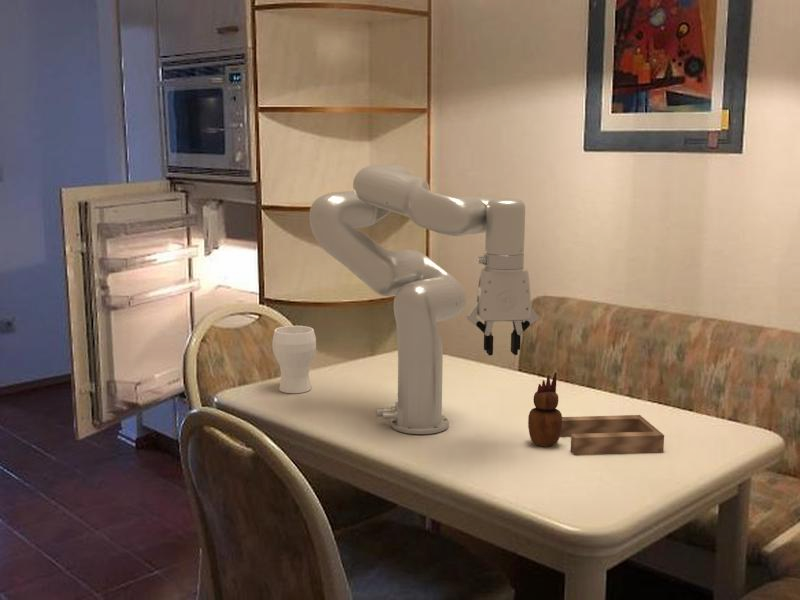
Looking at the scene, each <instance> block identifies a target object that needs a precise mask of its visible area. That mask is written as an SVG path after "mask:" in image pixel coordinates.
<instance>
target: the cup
mask: <svg viewBox="0 0 800 600" xmlns="http://www.w3.org/2000/svg"><path fill="white" fill-rule="evenodd" d="M315 333H316V332H315V330H314V328H313V327H311V326H305V325H285V326H281V327H279V326H278V327H277V328H275V329H274V332H273V336H272V352H273V354H274V357H275V360H276V361H277V364H278V366H279V371H280V381H279V388H278V389H279V391H280V392H282V393H286V394H301V393H307V392H309V391H310V390H311V389H312V387H311V386H312V385H311V379H310V375H309V373H310V366H311V363H312V362H313V359H314V356H315V353H316V349H317V337H316V334H315Z"/></svg>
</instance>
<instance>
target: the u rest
mask: <svg viewBox="0 0 800 600" xmlns="http://www.w3.org/2000/svg"><path fill="white" fill-rule="evenodd" d="M564 437H565V438H567V437H570V452H571V453H572V454H573V456H580V455H582V456H583V455H585V456H586V455H612V454H613V455H616V454H620V455H621V454H645V453H664V445H665V434H664V433H662V432H661V431H660V430H659V429H657V427H655V426H654V425H653V424H651V423H650V422H649V421H648V420H647V419H645V417H643V416H642V415H640V414H631V415H630V414H627V415H626V414H625V415H623V414H622V415H589V416H588V415H586V416H562V429H561V434H560V437H559V438H564Z"/></svg>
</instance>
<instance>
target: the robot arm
mask: <svg viewBox="0 0 800 600" xmlns="http://www.w3.org/2000/svg"><path fill="white" fill-rule="evenodd" d="M352 189H353V190H348V191H347V190H346V191H334V192H330V193H329V192H328V193H325V194H322V195H320V196H319V197H317V198H316V199H315V200H314V201H313V203H312V204H311V206H310V209H309V226H310V229H311V232H312V234H313V236H314V239H315V240H316V242H317V243H318V244H319V246H320V247H321V248H322V249H323V250H324V251H325V252H326V253H328V255H330V256H331V257H332V258H334V259H335V260H336V261H338V262H340V263H341V264H342V265H343V266H345V267H346V268H347V269H348V270H349V271H350V272H351V273H352V274H353V275H355V276H356V277H357V278H358V279H359V280H361V281H362V282H363V283H364V284H365V285H366V286H368V287H369V288H370V289H371V290H373V291H374V292H375V293H376V294H378V295H379V296H383V297H390V296H394V299H393V313H394V314H393V315H394V319H395V325H396V332H397V361H398V362H397V369H398V370H397V402H396V401H395V402H394V405H391V406H390V407H376V409H375V413H376V415H375V416H376V417H377V418H378V417H382V419H383V420H387V419H390V427H391V428H392V429H393V430H395V431H397V432H400V433H405V434H411V435H431V434H438V433H441V432H443V431H445V430H447V429H448V428H449V426H450V420H449V419H448V418H447V417H446V416H444V415H443V414H442V413H443V357H444V356H443V355H444V354H443V350H444V349H443V341H442V336H441V333H440V331H439V327H438V324H437V323H439V322H444V321H447V320H451V319H452V318H455V317H457V316H458V315H460V314H461V312H462V311H463V310H464V308H465V305H466V293H465V290H464V288H463V286H462V285H461V283H460V282H459V280H457V278H455V277H454V276H453V275H452V274H450V272H448V271H446V270H445V268H443V267H441V266H440V265H439V264H438V263H436V262H435V261H434V260H433V259H432V258H430V257H428V256H427V255H426V254H425V253H423V252H420V251H418V250H415V249H412V248H411V249H410V248H409V249H408V248H407V249H399V250H389V249H387V248H386V247H383V246H382V245H380V244H379V243H378V242H376V241H375V239H373V238H372V237H370V236H369V235H368V234H366V233H363V232H361V231H359V230H357V229H360V228H361V229H362V228H367V227H371V226H372V225H374V224H376V223H378V222H380V221H381V220H382V219H384V218H385V217H387V216H388V215H389V214H391V213H395V214H399V215H400V216H401V215H402V216H404V217H407V218H408V219H409V220H410V221H411V222H412V223H414V224H415V225H416V226H418V227H420V228H423V229H426V230H428V231H432V232H434V233H438V234H442V235H444V236H447V237H462V236H468V235H477V234H483V233H485V242H484V243H485V246H484V247H485V249H484V251H485V252H484V254H483V255H481V256H478V257H477V264H478V265H479V264H481V265H483V266H484V268H481V270H480V273H479V281H478V286H477V287H478V288H477V296H476V304H475V305H474V306H473V308H472V309H471V310H470V312H469V313H468V314H467V316H466V320H467V321H468V322H470V323H471V324H473V325H474V326H475V327H477V328H478V329H479V330H480V331H481V332H482V333H483V350H484V351H485V353H487V355H488V356H493V355H494V336H493V332H492V330H493V326H494V322H511V323H512V328H513V330H512V332H511V333H510V352H511V354H512V355H514V356H517V355H518V353H519V351H520V350H521V344H522V343H521V341H522V339H521V338H522V335H523V333H524V332H525V331H526V330H527V329H528V328H529V327H530V325H533V324H534V323H535V322H536V321H538V320H539V318H540V317H539V315H538V314H537V313H536V312H537V311H535V310H534V308H533V307H532V305H531V304H532V302H531V299H532V298H531V284H530V276H529V271H528V269H526V268H524V264H525V263H524V262H525V235H526V234H525V232H526V229H525V228H526V227H525V226H526V205H525V203H524V201H523V200H520V199H517V198H496V197H491V196H487V195H465V196H455V197H454V196H448V195H444V194H441V193H437V192H433V191H431V190H430V185H429V184H428V182H427V180H425V179H424V178H422V177H420V176H416V175H412V173H411V172H410V171H409V169H407V168H406V167H404V166H402V165H399V164H371V165H367V166H364V167H362V168H361V169H360V170H359V171H357V173H356V175H354V177H353V182H352ZM477 317H479V318H480V319H481V320H483V321H481V320H479V319H478V318H477Z"/></svg>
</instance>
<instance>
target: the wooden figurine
mask: <svg viewBox="0 0 800 600" xmlns="http://www.w3.org/2000/svg"><path fill="white" fill-rule="evenodd" d="M557 376H558V375H557V372H556V371H555V372H554V374H553V377H552V380H551V378H550V374H547V376H546V381H545V379H542V383H538V386H537V390H536V391H535V392H534V394H533V404H534V407H533V408H531V410H530V411H529V413H528V421H527V423H528V425H527V427H528V433H529V438H530V439H531V442H532V443H533V444H534V445H536V446H539V447H546V448H547V447H553V446H556V444H557V443H558V441H559V440H560V438H561V437H560V434H561V429H562V417H563V415H562V412H561V411H560V410H559V409H557V407H558V405H559V395H558V393H557Z"/></svg>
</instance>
